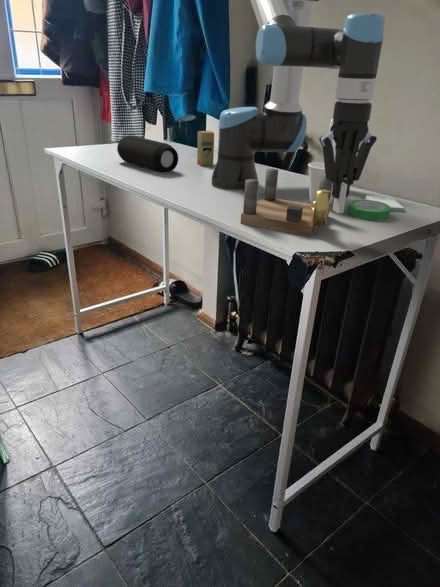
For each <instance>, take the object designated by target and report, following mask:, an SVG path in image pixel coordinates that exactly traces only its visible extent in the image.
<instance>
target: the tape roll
mask: <svg viewBox="0 0 440 587" xmlns="http://www.w3.org/2000/svg"><path fill="white" fill-rule="evenodd" d="M390 209H391V207H390V206H389V205H387V204H385V203H382V202H379V201H373V200H366V199H354V200H351V201H349V202H348V206H347V214H348V215H350V216H351V217H354V218H357V219H360V220H365V221H375V222H376V221H385V220H388V219H389V217H390V214H391V211H390Z"/></svg>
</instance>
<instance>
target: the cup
mask: <svg viewBox="0 0 440 587" xmlns="http://www.w3.org/2000/svg"><path fill="white" fill-rule="evenodd" d="M307 166H308V178H309V179H308V180H309V182H308V183H309V184H308V185H309V186H308V187H309V204H313V201H315V200H316V193H317V190H319V185H320V179H321V176H326V175H325V165H324V161H313V162H309V163H308V164H307ZM332 189H333V184H332ZM333 200H334V197H332V190H331V197H330V203H329V206H330V205H331V204H332V202H333Z"/></svg>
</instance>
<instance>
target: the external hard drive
mask: <svg viewBox="0 0 440 587" xmlns="http://www.w3.org/2000/svg"><path fill="white" fill-rule="evenodd" d="M364 200H373V201H379V202H382V203H385V204H387V205H389V206H390V207H391V209H390V212H401V213H402V212H403V213H405V211H406V208H405V207H404V206H402V205H401V204H400V203H399V202H398V201H397V200H396V199H394V198H393V197H392V196H386V195H385V196H383V195H370V194H369V195H365V198H364Z"/></svg>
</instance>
